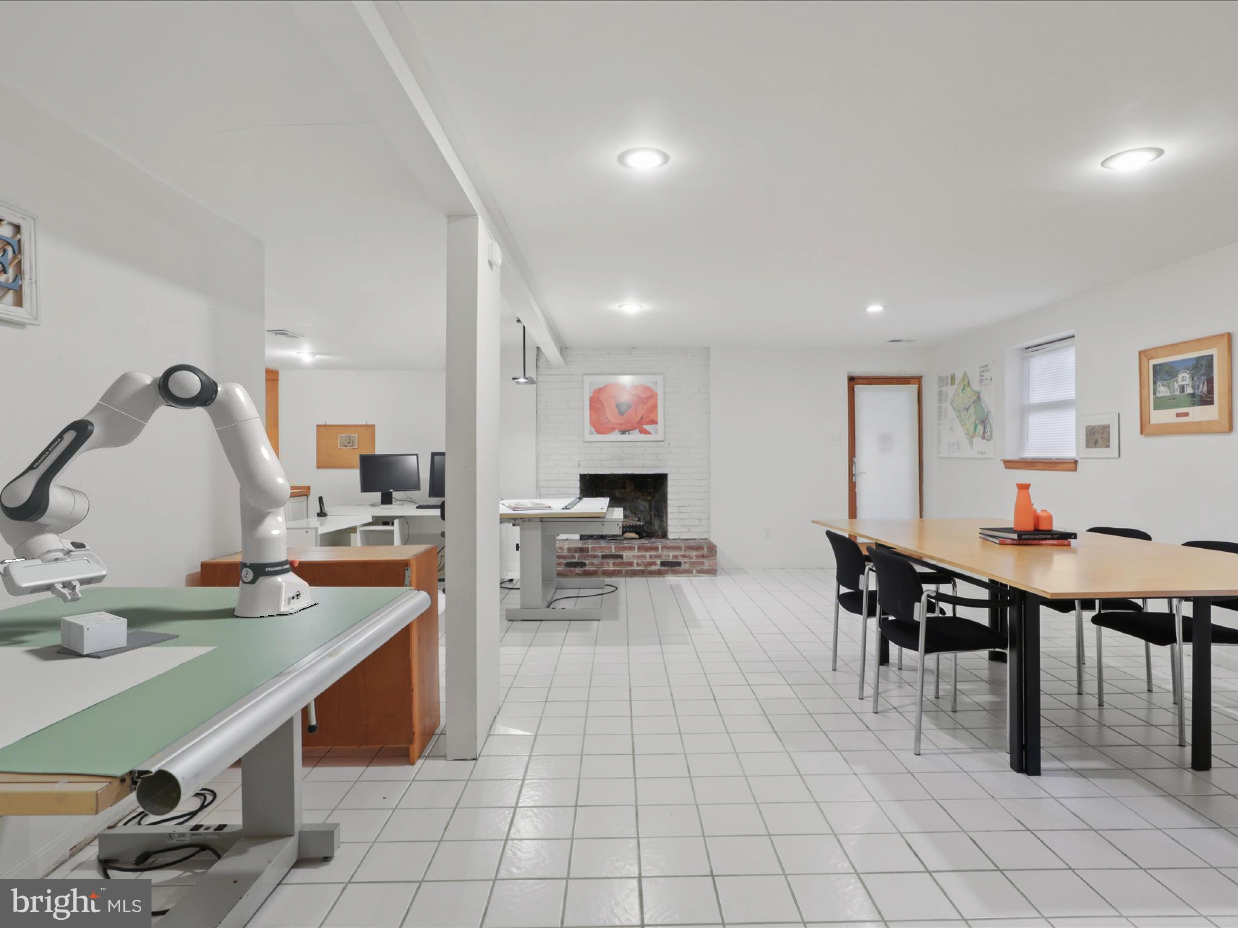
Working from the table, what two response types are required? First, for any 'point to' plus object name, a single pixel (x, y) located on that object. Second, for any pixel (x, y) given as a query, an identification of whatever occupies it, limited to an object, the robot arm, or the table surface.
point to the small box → (93, 632)
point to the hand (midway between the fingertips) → (73, 600)
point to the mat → (128, 643)
